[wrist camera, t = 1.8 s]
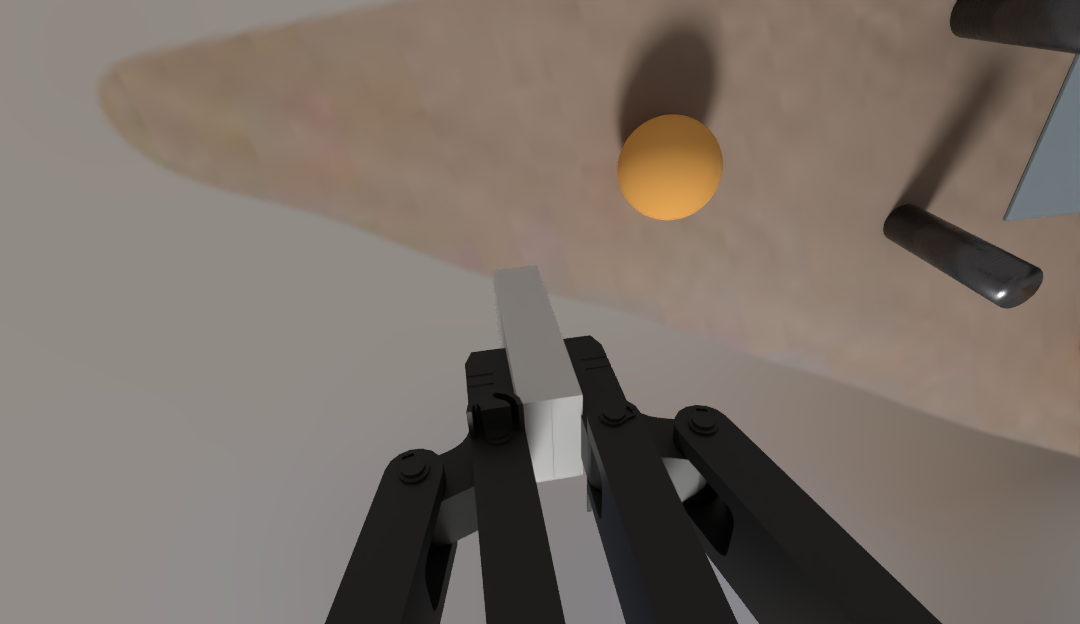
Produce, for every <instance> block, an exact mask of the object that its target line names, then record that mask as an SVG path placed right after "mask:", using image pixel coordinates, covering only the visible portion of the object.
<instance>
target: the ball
mask: <svg viewBox="0 0 1080 624" xmlns="http://www.w3.org/2000/svg"><path fill="white" fill-rule="evenodd" d="M722 167H723V160H722V153H721V149H720V146H719V144H718V142H717V140H716V138H715V136H714V135H713V134H712V132H711V131H710V130H709V129H708V128H707V127H706V126H705V125H704V124H702V123H701V122H699V121H697V120H695V119H693V118H691V117H688V116H684V115H677V114H668V115H662V116H658V117H655V118H653V119H650V120H648V121H646V122H645V123H643V124H642V125H640V126H639V127H638V128H636V129H635V130H634V131H633V132H632V134H631V135H630V136H629V137H628V139H627V140H626V142H625V143H624V145H623V147H622V150H621V153H620V156H619V160H618V168H617V171H618V180H619V185H620V188H621V190H622V192H623V194H624V196H625V198H626V199H627V201H628V202H629V203H630V204H631V205H632V206H633V207H634V208H635V209H636V210H637V211H639V212H640V213H642V214H644V215H646V216H648V217H651V218H654V219H659V220H675V219H680V218H684V217H686V216H689V215H691V214H693V213H695V212H696V211H698V210H699V209H701V208H702V207H703V206H704V205H705V204H706V203H707V202H708V201H709V200H710V199H711V197H712V196H713V195H714V193H715V191H716V189H717V187H718V185H719V182H720V179H721V175H722Z"/></svg>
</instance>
